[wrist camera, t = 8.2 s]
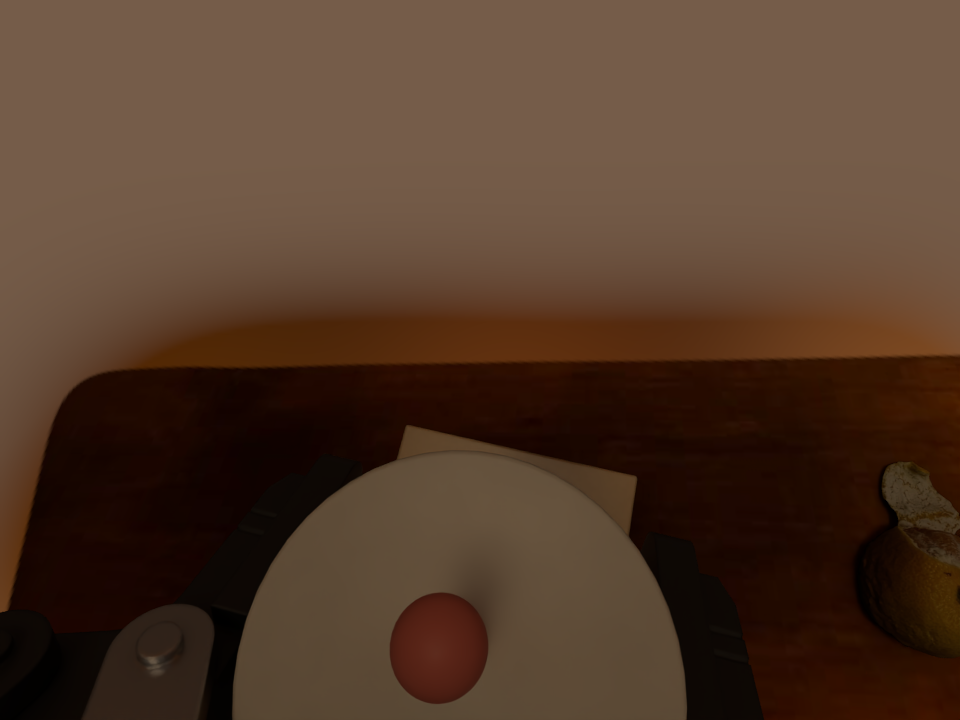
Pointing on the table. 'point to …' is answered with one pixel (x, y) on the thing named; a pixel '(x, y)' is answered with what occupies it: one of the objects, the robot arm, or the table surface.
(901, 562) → the fruit
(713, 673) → the robot arm
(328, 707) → the paper cup
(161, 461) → the table surface
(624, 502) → the stand
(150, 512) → the table surface
